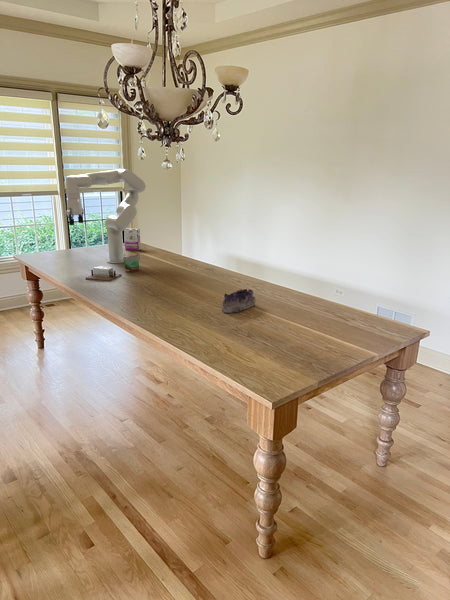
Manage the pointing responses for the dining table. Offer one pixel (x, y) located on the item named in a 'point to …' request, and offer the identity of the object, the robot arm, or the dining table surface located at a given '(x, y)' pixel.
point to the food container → (131, 263)
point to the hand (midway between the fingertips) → (76, 223)
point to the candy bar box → (132, 239)
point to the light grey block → (103, 271)
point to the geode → (238, 301)
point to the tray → (103, 278)
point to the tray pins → (111, 273)
